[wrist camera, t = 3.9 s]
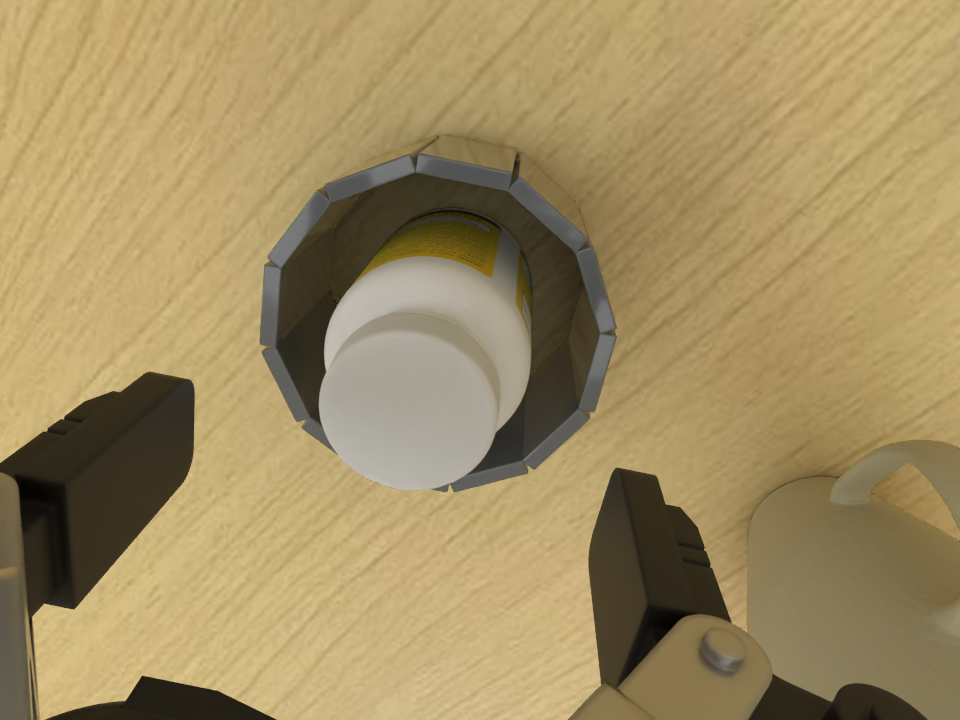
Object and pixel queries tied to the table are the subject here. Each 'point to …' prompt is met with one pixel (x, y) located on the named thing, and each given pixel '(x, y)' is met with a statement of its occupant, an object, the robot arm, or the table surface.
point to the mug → (860, 583)
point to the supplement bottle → (429, 351)
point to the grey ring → (309, 305)
